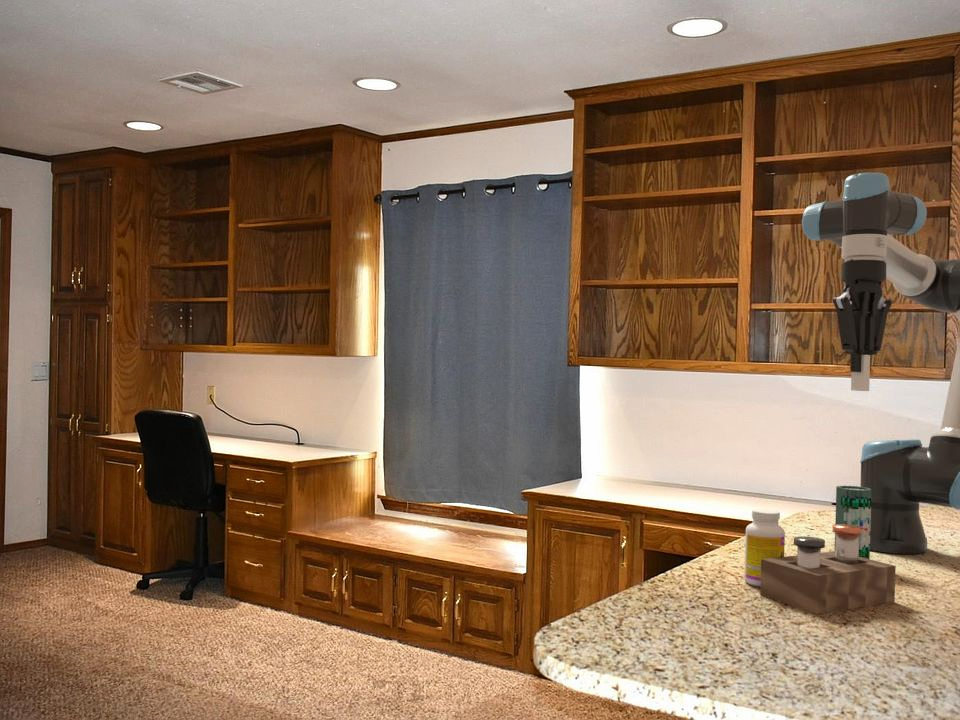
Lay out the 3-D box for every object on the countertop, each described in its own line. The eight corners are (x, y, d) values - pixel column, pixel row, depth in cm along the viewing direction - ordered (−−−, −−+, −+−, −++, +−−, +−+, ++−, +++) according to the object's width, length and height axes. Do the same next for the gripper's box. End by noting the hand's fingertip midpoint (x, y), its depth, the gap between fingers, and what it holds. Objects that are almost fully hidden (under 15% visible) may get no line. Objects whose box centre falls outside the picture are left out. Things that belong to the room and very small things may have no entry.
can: (852, 569, 172) (854, 490, 172) (828, 562, 178) (830, 486, 178) (875, 567, 175) (877, 489, 175) (851, 560, 180) (853, 485, 180)
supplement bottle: (785, 589, 156) (788, 515, 155) (745, 586, 157) (748, 513, 157) (780, 580, 162) (783, 509, 162) (742, 577, 163) (744, 506, 163)
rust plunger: (844, 575, 156) (846, 523, 156) (867, 581, 152) (869, 528, 152) (824, 577, 154) (826, 525, 154) (848, 584, 149) (849, 530, 149)
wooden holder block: (835, 584, 160) (836, 550, 160) (894, 602, 149) (895, 565, 149) (760, 594, 152) (761, 559, 152) (817, 614, 141) (818, 575, 141)
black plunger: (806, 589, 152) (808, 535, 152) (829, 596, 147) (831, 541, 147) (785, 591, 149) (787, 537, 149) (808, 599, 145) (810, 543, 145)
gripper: (856, 255, 157) (852, 391, 157) (906, 261, 163) (902, 391, 163) (821, 259, 164) (817, 389, 164) (870, 264, 170) (867, 389, 170)
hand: (860, 390), depth 163 cm, fingers closed
